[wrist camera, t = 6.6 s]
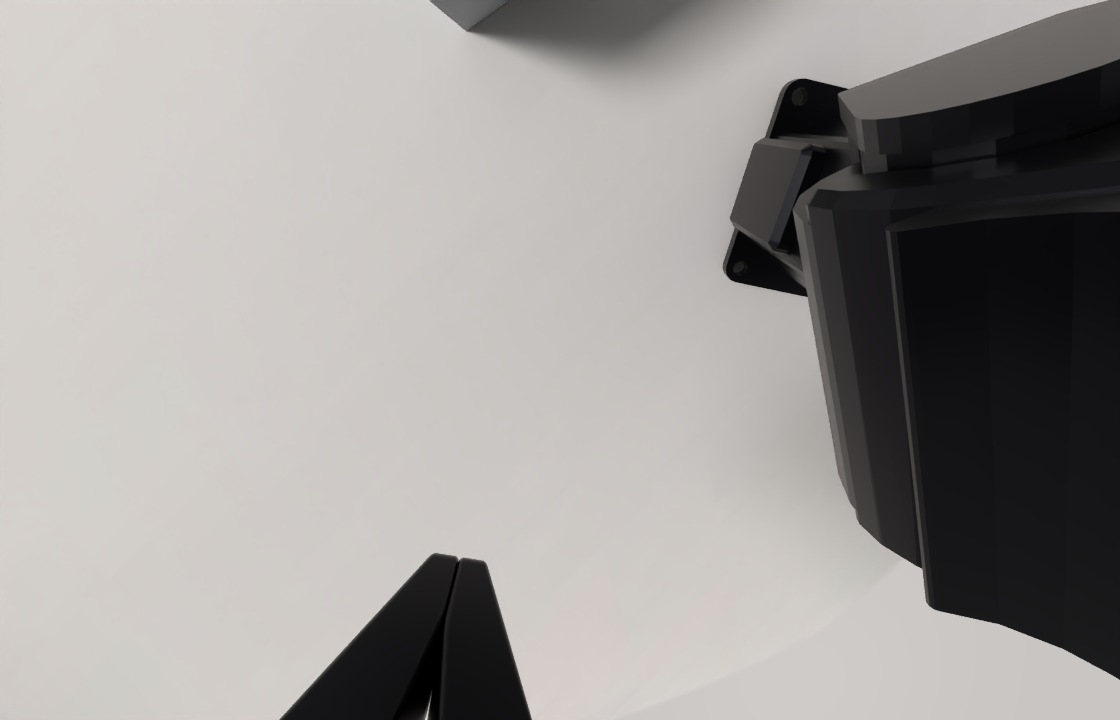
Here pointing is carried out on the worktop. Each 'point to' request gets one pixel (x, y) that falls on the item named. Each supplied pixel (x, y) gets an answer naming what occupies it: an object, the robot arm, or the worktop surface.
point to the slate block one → (468, 10)
